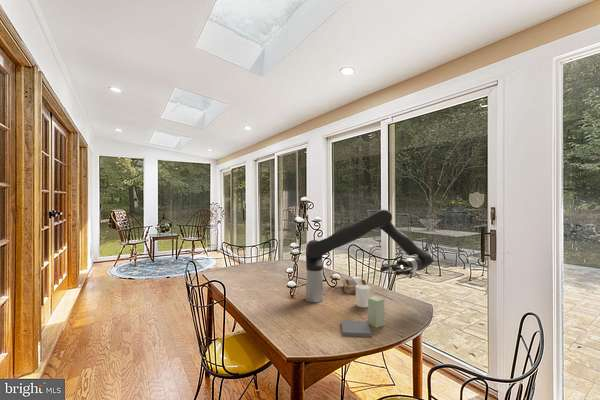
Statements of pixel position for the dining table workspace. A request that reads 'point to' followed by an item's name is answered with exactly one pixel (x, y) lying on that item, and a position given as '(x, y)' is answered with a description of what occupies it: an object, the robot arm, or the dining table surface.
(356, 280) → the die
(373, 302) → the block
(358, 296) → the white cup
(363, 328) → the coaster
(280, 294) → the dining table surface
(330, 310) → the dining table surface
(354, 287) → the die frame
